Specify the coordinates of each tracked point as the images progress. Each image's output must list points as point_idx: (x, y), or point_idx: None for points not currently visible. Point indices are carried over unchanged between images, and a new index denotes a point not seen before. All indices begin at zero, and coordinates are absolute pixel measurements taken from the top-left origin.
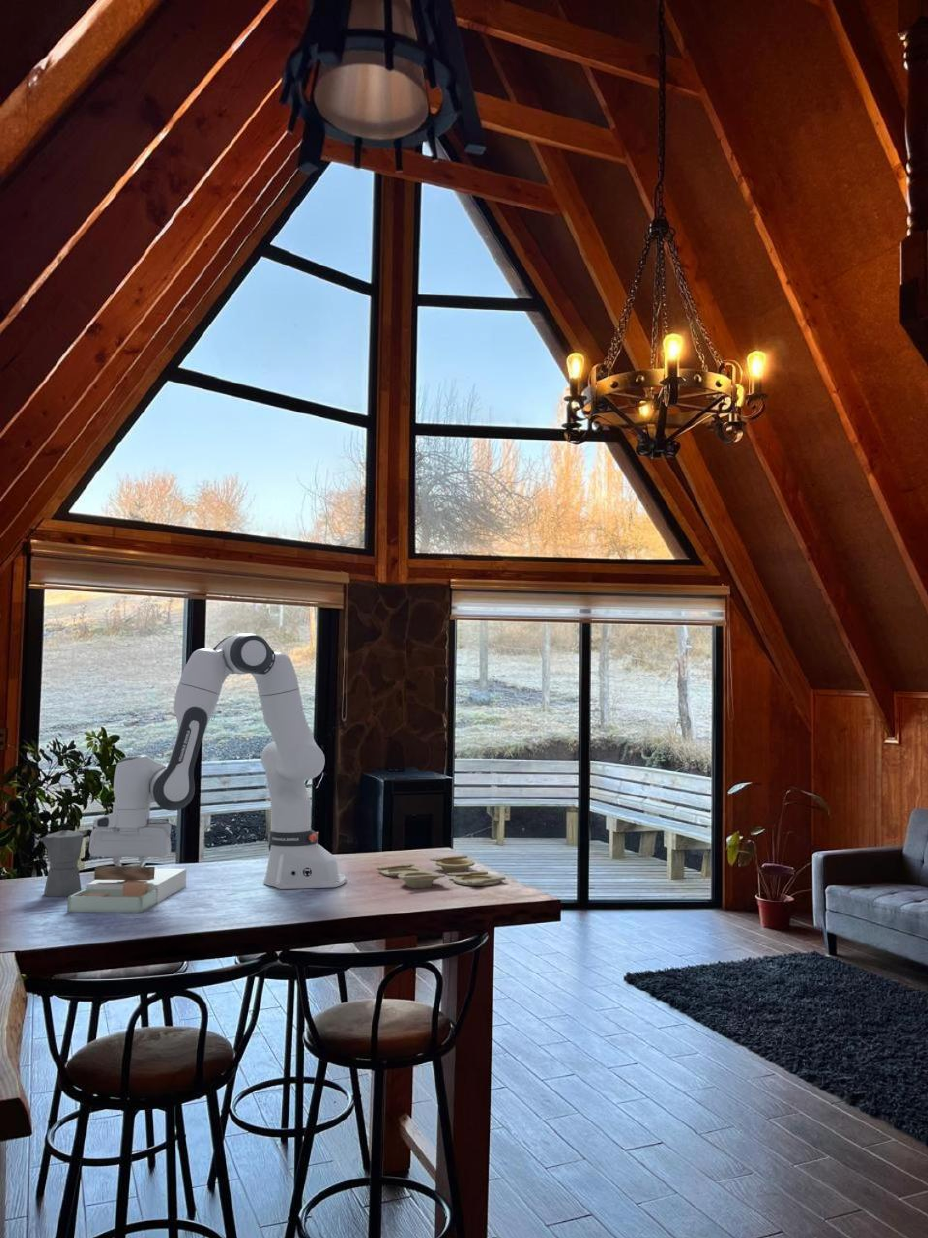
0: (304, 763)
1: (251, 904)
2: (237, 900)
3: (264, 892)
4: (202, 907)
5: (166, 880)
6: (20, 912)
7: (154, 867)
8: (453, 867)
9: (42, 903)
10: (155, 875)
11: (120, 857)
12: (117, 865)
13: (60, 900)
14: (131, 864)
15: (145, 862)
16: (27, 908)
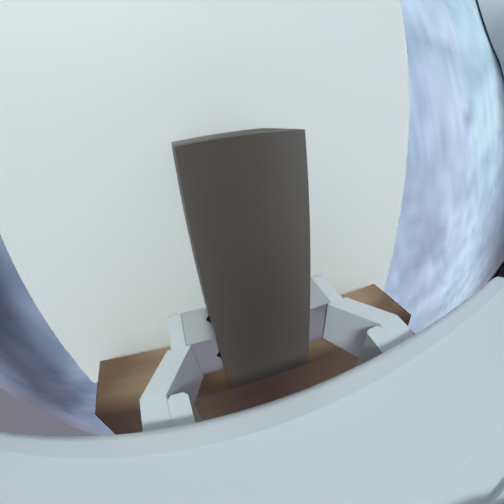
0: None
1: (483, 212)
2: (475, 184)
3: (496, 106)
4: (432, 259)
5: (398, 211)
6: (60, 412)
7: (408, 316)
8: None
9: (8, 355)
10: (324, 102)
11: (197, 420)
12: (192, 392)
13: (5, 320)
14: (217, 261)
15: (377, 310)
16: (34, 392)
